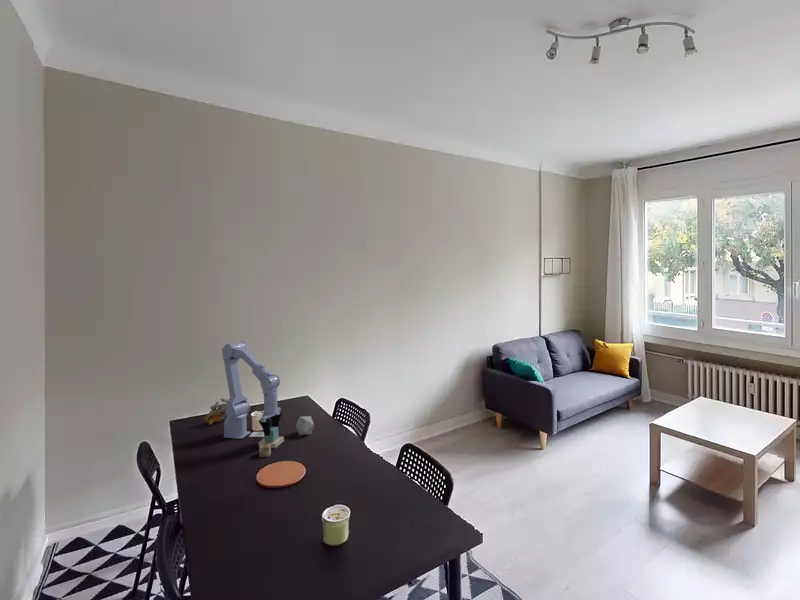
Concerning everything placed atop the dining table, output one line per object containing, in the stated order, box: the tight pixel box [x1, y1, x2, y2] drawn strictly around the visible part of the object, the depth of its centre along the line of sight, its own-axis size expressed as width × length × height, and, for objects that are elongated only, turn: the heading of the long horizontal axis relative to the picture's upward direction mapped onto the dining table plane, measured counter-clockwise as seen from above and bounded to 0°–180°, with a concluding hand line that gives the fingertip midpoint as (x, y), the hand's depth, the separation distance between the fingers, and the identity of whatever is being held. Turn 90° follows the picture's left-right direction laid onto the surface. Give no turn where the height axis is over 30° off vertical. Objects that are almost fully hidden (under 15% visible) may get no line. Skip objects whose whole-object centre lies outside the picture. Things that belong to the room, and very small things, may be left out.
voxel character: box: [203, 398, 229, 426], centre depth 215 cm, size 11×10×15 cm
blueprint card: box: [248, 431, 264, 438], centre depth 200 cm, size 8×6×1 cm
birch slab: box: [258, 435, 285, 449], centre depth 189 cm, size 8×8×2 cm
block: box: [258, 443, 272, 458], centre depth 178 cm, size 4×4×4 cm
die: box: [295, 415, 315, 436], centre depth 201 cm, size 8×9×10 cm
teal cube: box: [263, 426, 279, 442], centre depth 189 cm, size 4×4×5 cm
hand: (271, 432), depth 189 cm, fingers open, 7 cm apart
